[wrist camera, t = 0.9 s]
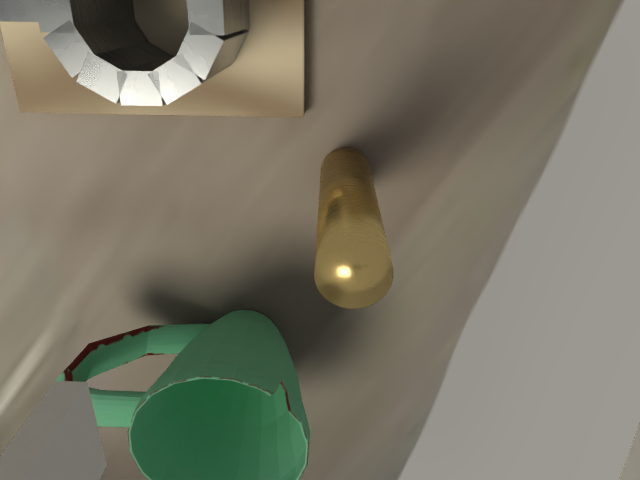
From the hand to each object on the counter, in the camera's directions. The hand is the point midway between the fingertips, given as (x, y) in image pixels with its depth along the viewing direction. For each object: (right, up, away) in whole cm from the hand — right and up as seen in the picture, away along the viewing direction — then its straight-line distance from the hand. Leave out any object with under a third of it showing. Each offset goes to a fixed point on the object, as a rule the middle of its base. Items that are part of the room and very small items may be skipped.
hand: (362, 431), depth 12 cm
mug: (-9, -2, +24) cm, 26 cm away
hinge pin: (+1, +9, +19) cm, 21 cm away
